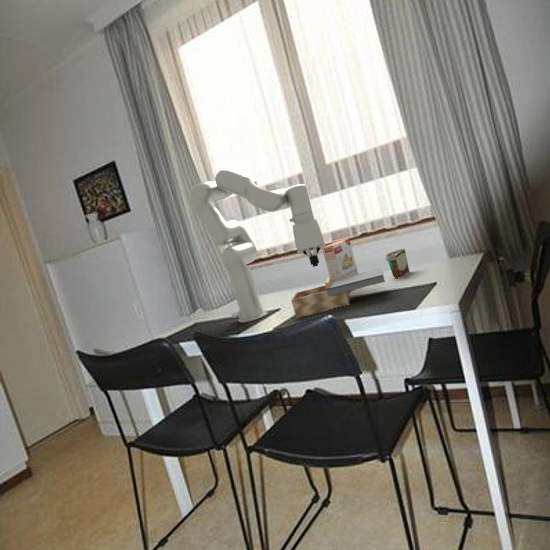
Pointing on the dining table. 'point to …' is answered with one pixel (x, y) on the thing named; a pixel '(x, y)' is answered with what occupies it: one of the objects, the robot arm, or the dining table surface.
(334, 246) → the cracker box
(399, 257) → the food container
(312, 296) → the box
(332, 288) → the lid
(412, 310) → the dining table surface
